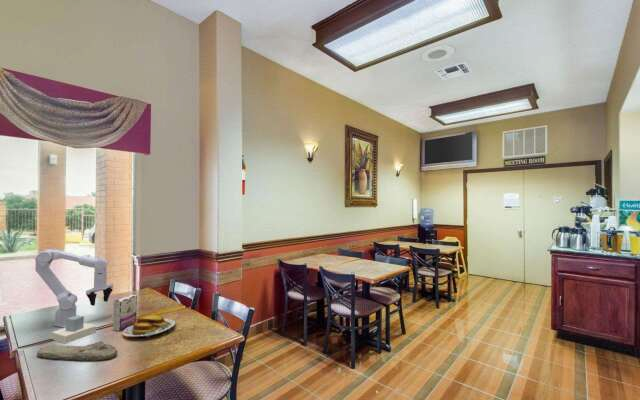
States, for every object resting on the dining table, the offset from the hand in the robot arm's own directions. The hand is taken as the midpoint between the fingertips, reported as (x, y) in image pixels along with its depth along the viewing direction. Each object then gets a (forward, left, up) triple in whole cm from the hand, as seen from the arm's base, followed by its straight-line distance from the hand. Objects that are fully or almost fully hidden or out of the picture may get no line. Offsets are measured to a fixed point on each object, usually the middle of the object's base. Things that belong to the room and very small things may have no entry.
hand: (99, 303), depth 174 cm
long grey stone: (+30, -33, -10) cm, 46 cm away
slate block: (+9, -19, -6) cm, 22 cm away
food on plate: (+39, -1, -10) cm, 40 cm away
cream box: (+8, -19, -10) cm, 23 cm away
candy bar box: (+22, -2, -10) cm, 24 cm away
